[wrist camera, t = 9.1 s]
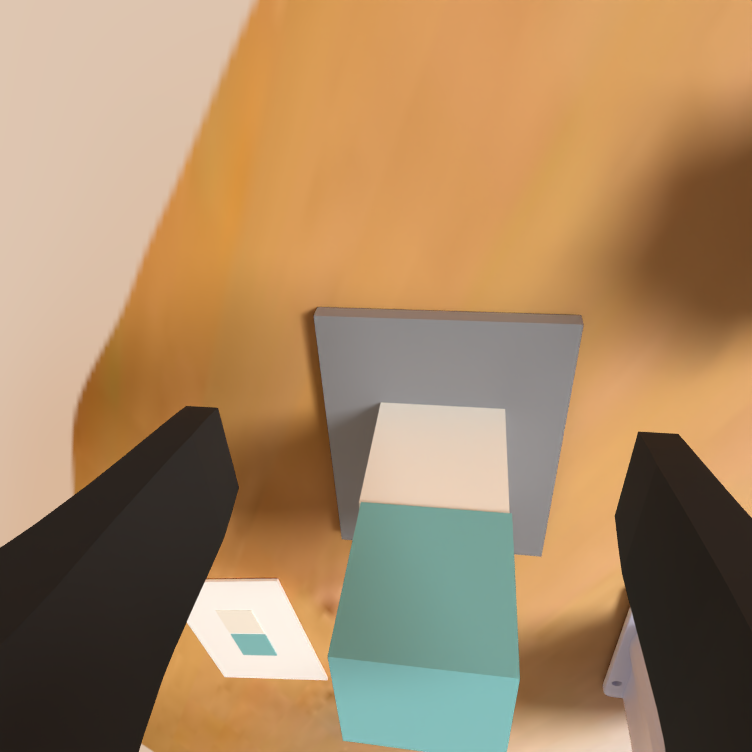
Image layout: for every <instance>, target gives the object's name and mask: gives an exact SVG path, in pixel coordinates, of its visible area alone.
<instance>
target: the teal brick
mask: <svg viewBox="0 0 752 752" xmlns="http://www.w3.org/2000/svg"><path fill="white" fill-rule="evenodd" d="M328 661H329V667H330V672H331V678H332V683H333V689H334V694H335V700H336V705H337V710H338V716H339V721H340V727H341V732H342V738H343V741H349V742H357V743H364V744H372V745H379V746H386V747H394V748H401V749H409V750H416V751H424V752H507V747H508V742H509V736H510V731H511V725H512V720H513V714H514V709H515V703H516V698H517V692H518V687H519V681H520V670H519V649H518V628H517V606H516V585H515V564H514V543H513V522H512V513H500V512H487V511H473V510H460V509H447V508H434V507H421V506H408V505H395V504H382V503H369V502H361V504H360V508H359V513H358V518H357V522H356V527H355V532H354V536H353V541H352V546H351V550H350V555H349V560H348V564H347V569H346V574H345V578H344V583H343V588H342V592H341V597H340V601H339V606H338V611H337V615H336V620H335V625H334V629H333V634H332V639H331V643H330V648H329V653H328Z"/></svg>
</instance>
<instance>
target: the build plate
mask: <svg viewBox="0 0 752 752" xmlns="http://www.w3.org/2000/svg"><path fill="white" fill-rule="evenodd" d="M314 323H315V331H316V339H317V347H318V355H319V362H320V370H321V378H322V386H323V394H324V402H325V410H326V418H327V425H328V433H329V441H330V449H331V457H332V465H333V473H334V481H335V489H336V496H337V504H338V512H339V520H340V528H341V536H342V539H346V540H353V536H354V532H355V527H356V522H357V518H358V513H359V500H360V495H361V491H362V486H363V482H364V477H365V473H366V468H367V463H368V459H369V454H370V450H371V445H372V440H373V436H374V431H375V427H376V422H377V417H378V413H379V408H380V404H381V402H383V403H402V404H421V405H440V406H458V407H477V408H496V409H505V419H506V442H507V465H508V488H509V512H510V513H512V522H513V543H514V554H518V555H530V556H541V555H542V550H543V544H544V539H545V533H546V528H547V522H548V517H549V512H550V506H551V501H552V495H553V490H554V484H555V479H556V473H557V468H558V462H559V457H560V451H561V446H562V440H563V435H564V429H565V424H566V418H567V413H568V407H569V402H570V396H571V391H572V385H573V380H574V374H575V369H576V363H577V358H578V352H579V347H580V341H581V336H582V330H583V325H584V324H583V320H582V316H581V315H559V314H527V313H494V312H461V311H428V310H396V309H363V308H330V307H317V309H316V311H315V314H314Z"/></svg>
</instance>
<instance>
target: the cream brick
mask: <svg viewBox="0 0 752 752" xmlns="http://www.w3.org/2000/svg"><path fill="white" fill-rule="evenodd" d="M361 502H369V503H382V504H395V505H408V506H421V507H434V508H447V509H460V510H473V511H487V512H500V513H510V512H509V488H508V465H507V442H506V419H505V409H496V408H477V407H458V406H440V405H421V404H402V403H383V402H381V404H380V408H379V413H378V417H377V422H376V427H375V431H374V436H373V440H372V445H371V450H370V454H369V459H368V463H367V468H366V473H365V477H364V482H363V486H362V491H361V495H360V500H359V508H360V504H361Z"/></svg>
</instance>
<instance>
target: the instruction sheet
mask: <svg viewBox="0 0 752 752" xmlns="http://www.w3.org/2000/svg"><path fill="white" fill-rule="evenodd" d="M187 623H188V624H189V626H190V627H191V629H192V630H193V632H194V633H195V635H196V636H197V637H198V639H199V640H200V642H201V643H202V645H203V646H204V648H205V649H206V651H207V652H208V653H209V655H210V656H211V658H212V659H213V661H214V662H215V664H216V665H217V667H218V668H219V669H220V671H221V672H222V674H223V675H224V677H240V678H273V679H305V680H328V677H327V675H326V673H325V671H324V669H323V667H322V665H321V663H320V661H319V659H318V657H317V655H316V653H315V651H314V649H313V647H312V645H311V643H310V641H309V639H308V637H307V635H306V633H305V631H304V629H303V627H302V625H301V623H300V621H299V619H298V617H297V615H296V613H295V611H294V609H293V607H292V605H291V603H290V602H289V600H288V598H287V596H286V594H285V592H284V590H283V588H282V586H281V584H280V582H279V580H278V578H272V579H206V580H205V582H204V585H203V587H202V589H201V591H200V594H199V596H198V598H197V600H196V602H195V605H194V607H193V609H192V611H191V614H190V616H189V618H188V620H187Z"/></svg>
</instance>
